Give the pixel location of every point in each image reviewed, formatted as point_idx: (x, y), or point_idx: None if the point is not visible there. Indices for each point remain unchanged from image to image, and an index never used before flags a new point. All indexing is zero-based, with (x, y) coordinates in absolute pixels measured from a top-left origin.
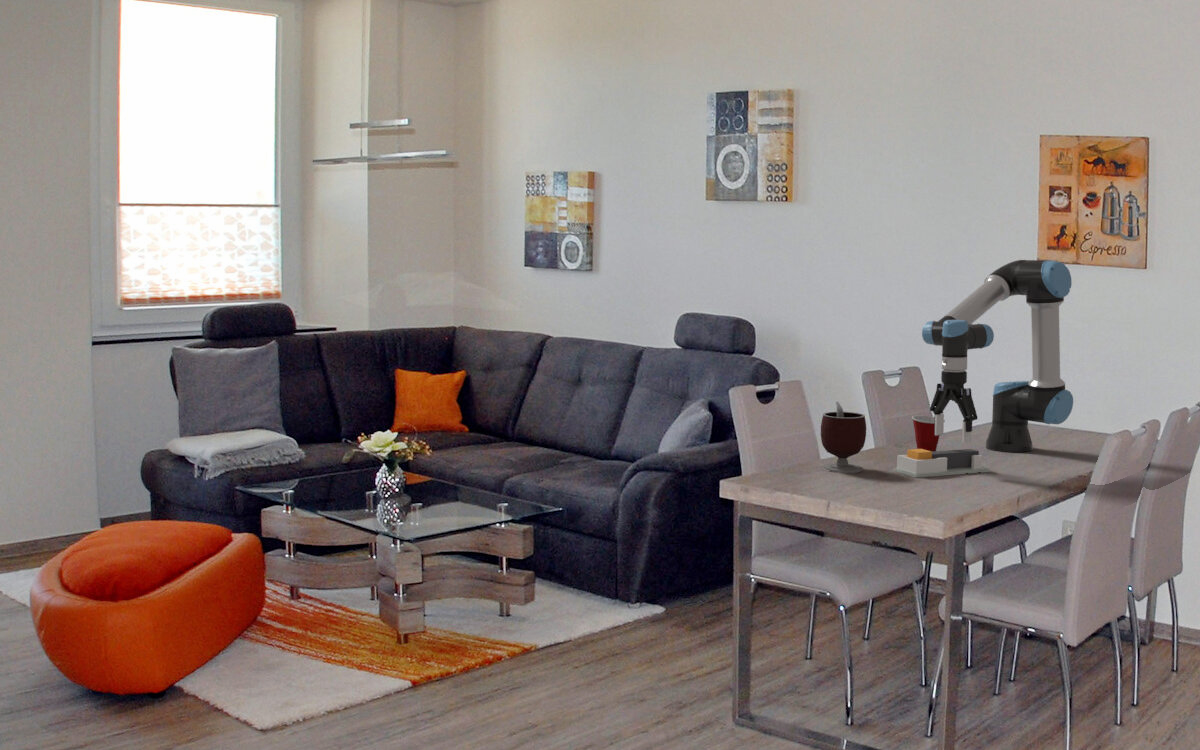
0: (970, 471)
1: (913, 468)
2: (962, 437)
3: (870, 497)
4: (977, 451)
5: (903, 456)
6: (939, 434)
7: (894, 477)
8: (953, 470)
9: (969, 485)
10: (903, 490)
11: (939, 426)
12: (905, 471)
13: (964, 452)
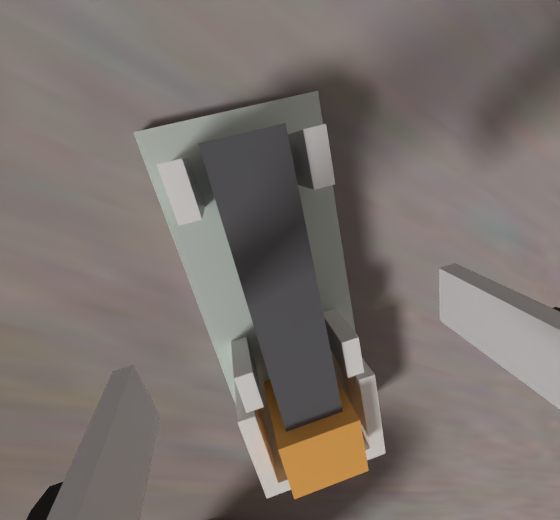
0: (333, 205)
1: None
2: (468, 338)
3: (517, 511)
4: (286, 134)
5: None
6: (147, 397)
7: None
8: (331, 280)
9: None
10: (489, 454)
11: (130, 462)
12: None
13: (307, 234)
